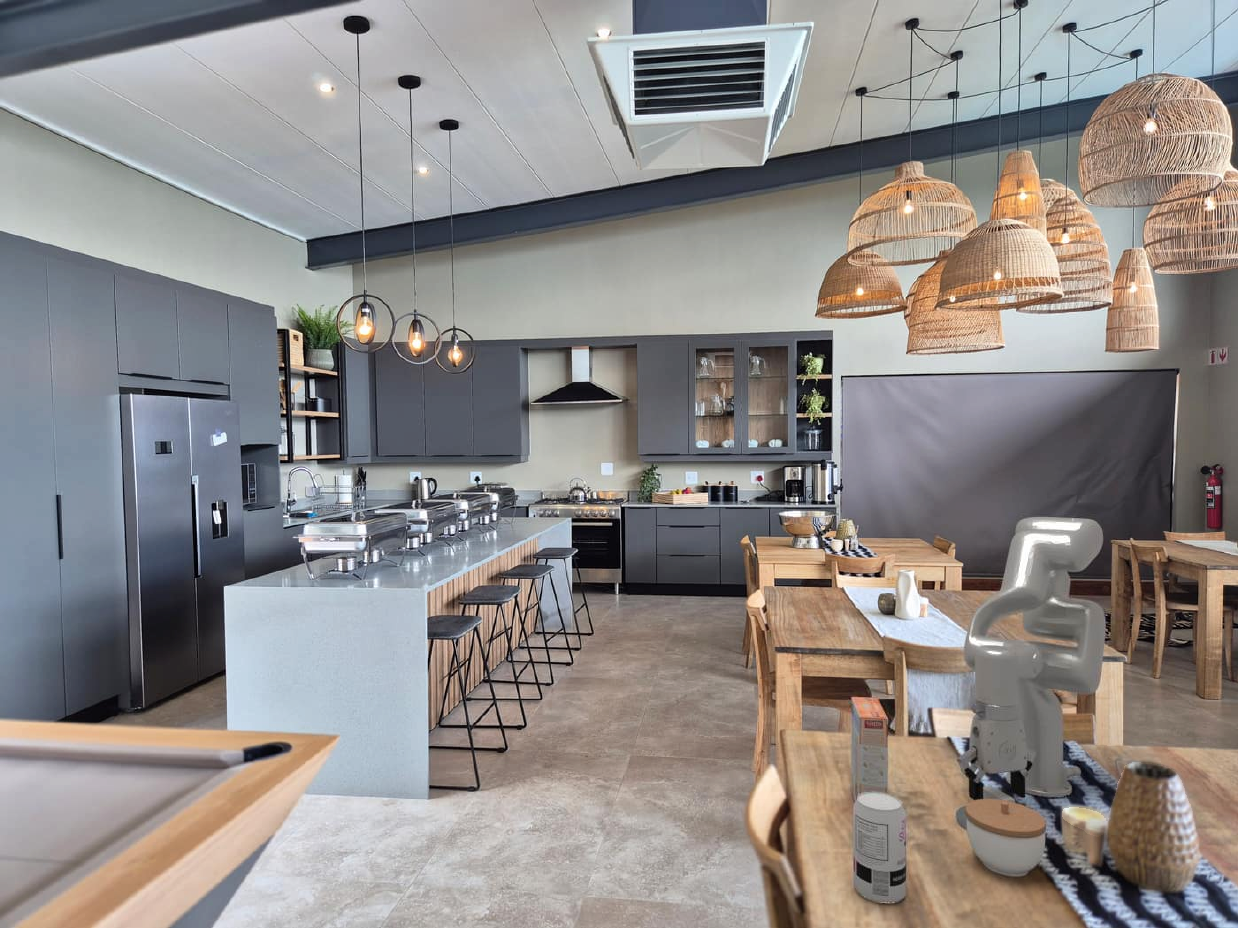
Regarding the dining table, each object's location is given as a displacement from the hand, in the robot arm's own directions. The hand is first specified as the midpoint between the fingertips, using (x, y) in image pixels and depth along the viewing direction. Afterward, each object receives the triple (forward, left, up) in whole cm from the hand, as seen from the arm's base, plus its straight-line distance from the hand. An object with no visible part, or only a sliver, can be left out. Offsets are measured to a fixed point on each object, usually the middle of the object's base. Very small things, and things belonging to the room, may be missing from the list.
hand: (997, 797), depth 146 cm
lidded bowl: (+10, +13, -5) cm, 17 cm away
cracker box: (+20, -13, -6) cm, 25 cm away
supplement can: (+36, +15, -5) cm, 39 cm away
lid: (0, 0, -6) cm, 6 cm away
